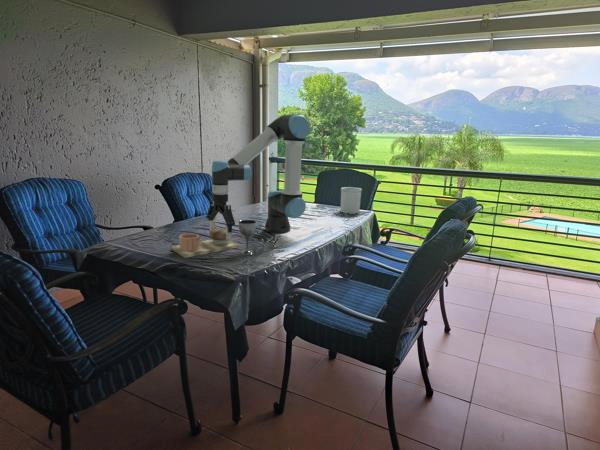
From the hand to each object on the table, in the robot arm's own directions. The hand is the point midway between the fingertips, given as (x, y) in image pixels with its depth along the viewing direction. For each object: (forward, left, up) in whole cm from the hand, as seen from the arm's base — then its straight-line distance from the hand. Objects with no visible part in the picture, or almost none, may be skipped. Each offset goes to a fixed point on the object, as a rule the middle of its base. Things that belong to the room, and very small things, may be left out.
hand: (220, 235), depth 188 cm
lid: (0, 0, -1) cm, 1 cm away
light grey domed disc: (0, 0, -4) cm, 4 cm away
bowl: (+10, +13, -4) cm, 16 cm away
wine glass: (-16, +6, -5) cm, 18 cm away
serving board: (+5, +6, -5) cm, 9 cm away
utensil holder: (-54, -106, -5) cm, 119 cm away
